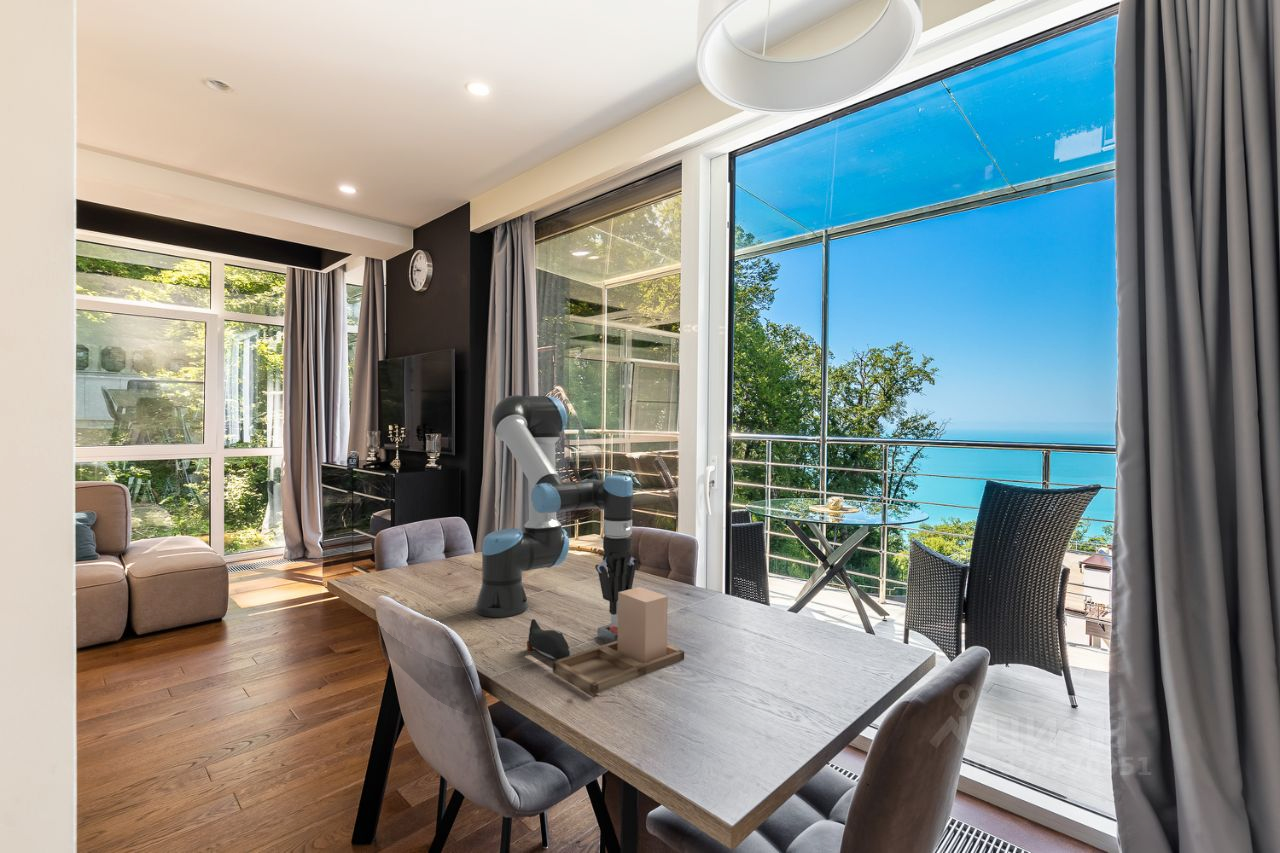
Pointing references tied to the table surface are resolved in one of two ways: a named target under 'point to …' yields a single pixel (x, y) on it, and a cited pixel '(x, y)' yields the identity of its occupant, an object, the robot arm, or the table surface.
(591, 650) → the wooden divided tray
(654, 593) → the tan block
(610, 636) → the button collar
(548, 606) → the table surface
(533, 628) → the figurine
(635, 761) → the table surface
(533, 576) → the table surface
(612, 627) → the stop button
